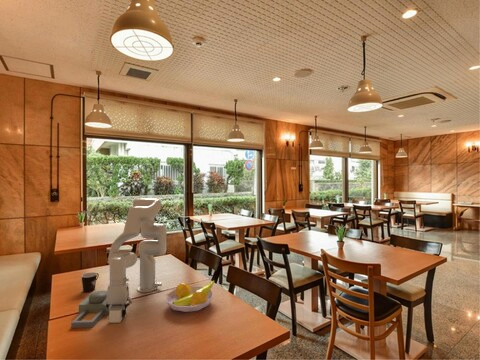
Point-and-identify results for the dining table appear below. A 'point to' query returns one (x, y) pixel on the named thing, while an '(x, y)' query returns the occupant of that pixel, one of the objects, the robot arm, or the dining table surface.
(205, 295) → the fruit bowl
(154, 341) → the dining table surface
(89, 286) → the coffee mug
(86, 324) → the domed grey panel
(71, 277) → the dining table surface
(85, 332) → the dining table surface
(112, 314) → the grey bevelled box
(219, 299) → the dining table surface
